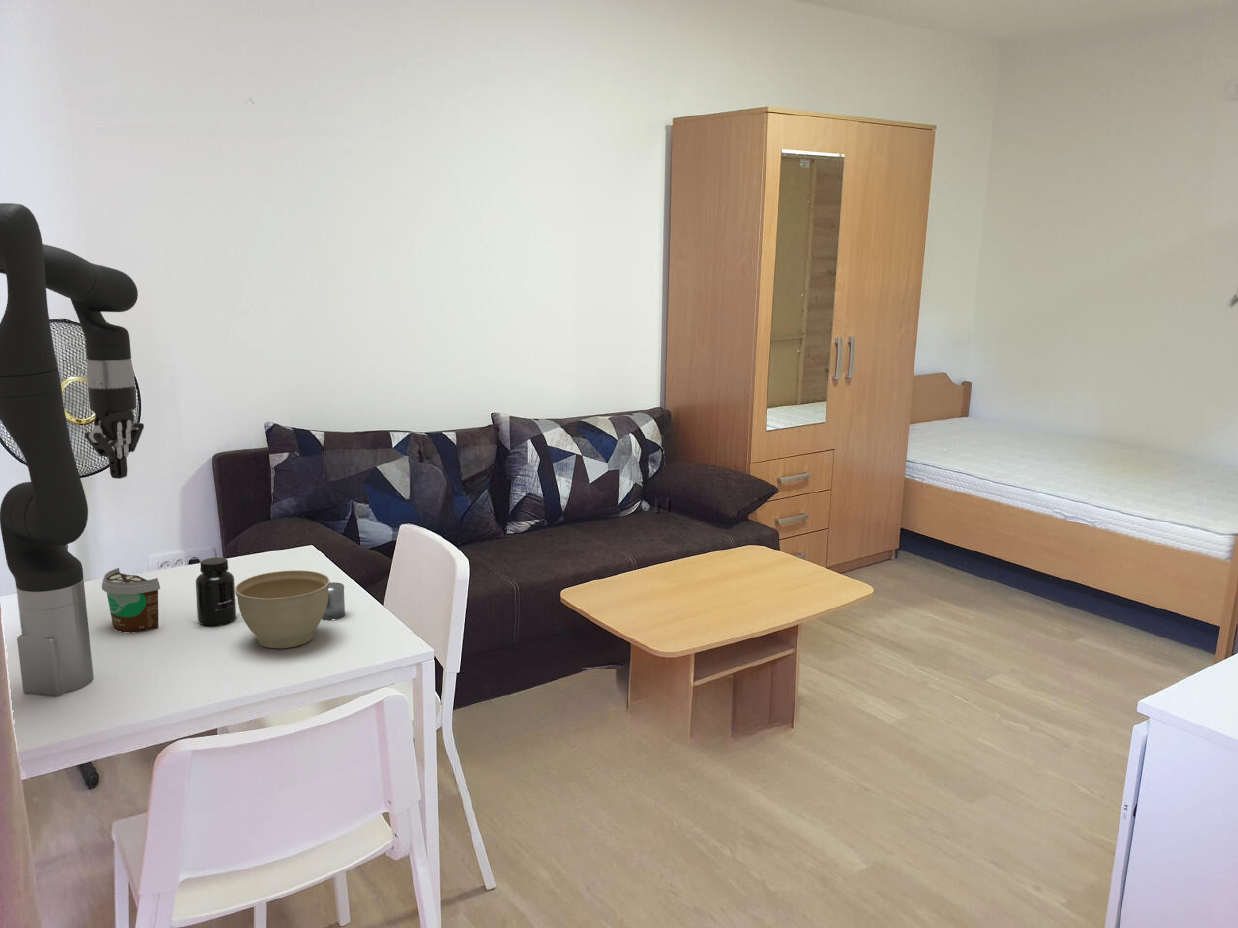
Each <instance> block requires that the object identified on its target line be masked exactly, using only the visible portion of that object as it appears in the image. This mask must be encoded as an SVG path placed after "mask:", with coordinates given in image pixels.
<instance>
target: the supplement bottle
mask: <svg viewBox="0 0 1238 928" xmlns="http://www.w3.org/2000/svg"><path fill="white" fill-rule="evenodd" d="M199 563H200V572H201V574H199V575H198V576H197V577H196V579H195V595H196V609H197V610H196V611H197V621H198V623H199V624H200V625H202V626H205V627H218V626H224V625H228V624H230V623H232V622H234V620H236V617H237V607H236V592H235V588H236V585H235V584H236V583H235V576H234V575H233V573H232V572H230V571H229V560H228V559H227V558H225V557H208V558H205V559H202V560H201V561H200V562H199Z"/></svg>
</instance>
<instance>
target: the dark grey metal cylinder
mask: <svg viewBox="0 0 1238 928" xmlns="http://www.w3.org/2000/svg"><path fill="white" fill-rule="evenodd" d="M345 616H346V605H345V585H344V584H343V583H342V582H335V581H334V582H331V581H330V585H329V588H328V602H327V607H326V610H325V613H324V615H323V617H322V619H323V621H333V620H332V619H336V620H340V619H342V618H344V617H345ZM322 619H321V620H322Z"/></svg>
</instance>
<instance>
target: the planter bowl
mask: <svg viewBox="0 0 1238 928" xmlns="http://www.w3.org/2000/svg"><path fill="white" fill-rule="evenodd" d="M330 583H331V581H330V577H328V575H326V574H324V573H321V572H318V571H312V570H303V569H302V570H298V569H297V570H295V569H294V570H291V569H290V570H279V571H271V572H265V573H260V574H257V575H253V576H250V577H248V578H246V579H244V580H242V581H240V582H238V583H237V584H236V585H235V597H236V598H237V604H238V605H237V606H238V609H239V612H240V615H241V617H242V619H243V622H244V623H245V625H246V626H247V628H248V629H249V630H250V631H251V632H252V634H253V635H254V636H255V637H257V641H258V644H259V645H261V646H262V647H265V648H267V649H268V648H269V649H287V648H294V647H299V646H302V645H304V644H306V643H308V642H310V641H311V640H312V639H313V637H314V634H315V630H316V629H317V627H318V626H319V624H320V623H321V621H322V617H323V615H324V613H325V610H326V607H327V602H328V588H329V585H330Z"/></svg>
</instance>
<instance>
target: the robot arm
mask: <svg viewBox="0 0 1238 928" xmlns="http://www.w3.org/2000/svg"><path fill="white" fill-rule="evenodd" d="M0 274H2V275H3V274H4V275H5V276H6V283H7V285H6V286H7V299H6V300H7V301H6V307H5V311H4V314H3V315H2V318H1V320H0V422H1V423H2V425H3V427H4V428H5V430H6V431H7V433H8V434H9V435H10V437H11V438H12V440H13V441H14V443H15V444H16V445H17V447H18V449H19V450H20V452H21V454H22V456H23V458H24V460H25V464H26V466H27V469H28V473H29V478H30V481H26V482H25V481H24V482H20V483H18V484H16V485H14V486H12V487H11V488H9V490H8V491H7V492H6V493H5V495H4V497H3V499H2V501H1V504H0V531H1V539H2V544H3V549H4V554H5V561H6V566H7V567H8V570H9V571H10V573H11V575H12V576H13V578H14V582H15V588H16V598H17V604H18V613H19V615H18V616H19V621H20V622H19V623H20V630H21V632H20V633H21V634H20V635H18V636H17V637H16V641H17V651H18V657H19V659H18V660H19V667H20V668H19V669H20V676H21V683H22V692H23V693H24V692H28V693H27V694H34V695H36V694H37V695H42V696H43V695H44V696H45V695H46V696H53V697H58V696H60V695H61V694H64V693H68V692H71V691H75V690H77V689H80V688H83V687H85V686H87V685H88V684H89V683H90V682H92V681H93V679H94V666H93V658H92V649H91V640H90V639H91V638H90V629H89V620H88V617H89V616H88V609H87V599H86V589H85V587H86V586H85V579H84V568H83V564H82V562H81V561H80V560H79V558H77V557H76V556H74V555H73V554H72V553H70V551H68V549H67V548H66V546H64V545H69V544H72V543H74V542H76V540H78V539H79V538H80V537H81V536H82V535H83V533H84V531H85V529H86V527H87V523H88V519H89V508H88V501H87V496H86V493H85V489H84V486H83V482H82V479H81V477H80V472H79V469H78V466H77V463H76V459H75V454H74V450H73V446H72V442H71V436H70V435H71V434H70V431H69V425H68V421H67V415H66V410H65V405H64V397H63V391H62V384H61V383H62V382H61V377H60V371H59V365H58V360H57V357H56V352H55V346H54V341H53V335H52V329H51V328H52V327H51V323H50V316H49V314H50V313H49V307H48V297H47V289H48V290H49V291H52V292H54V293H57V294H59V295H61V296H63V297H65V298H69V299H70V301H71V304H72V307H73V309H74V311H75V314H76V316H77V319H78V321H79V324H80V328H81V330H82V332H83V336H84V339H85V350H86V351H85V352H86V362H87V363H86V381H87V383H86V384H87V392H88V402H89V410H90V411H92V412H94V414H95V416H94V420H93V424H94V427H93V429H92V430H91V431H86V432H85V433H84V437H85V438H86V440H87V442H88V443H89V444H90V445H91V446H92V448H93V449H94V450H95V452H96V453H97V454H98V456H100V457H104V458H107V459H108V463H109V464H108V465H109V473H110V477H111V478H112V479H119V480H120V479H124V478H127V477H128V471H129V470H128V461H127V460H128V459H127V457H129V454H130V453H133V452H135V450H136V447H138V446H137V445H138V443H139V440H140V438H141V436H142V433H143V430H144V428H145V426H144V425H145V424H144V423H141V422H138V421H136V420H135V414H134V413H133V410H136V408H137V405H138V404H137V395H136V393H137V392H136V384H135V383H136V381H135V380H136V379H135V372H134V371H135V370H134V367H133V362H132V352H131V341H130V340H131V338H130V333H129V331H128V329H127V328H125V327H123V326H121V325H116V324H113V323H110V322H107V320H106V319H105V318H104V315H103V314H102V313H123V312H127V311H129V310H131V309H132V308H133V307H134V306H135V305H136V304H137V301H138V297H139V295H138V293H139V291H138V288H137V285H136V283H135V281H134V280H133V279H132V278H131V276H130V275H128V274H126V273H125V272H124V271H122V270H119V269H116V268H111V267H109V266H105V265H101V264H96V263H93V262H90V261H88V260H87V259H85V258H83V257H81V256H79V255H77V254H75V253H73V252H71V251H69V250H67V249H62V248H60V247H56V246H53V245H48V244H43V238H42V233H41V230H40V225H39V223H38V221H37V218H36V216H35V215H34V213H33V212H32V211H31V210H30V209H29V207H27V206H25V205H23V204H21V203H13V202H12V203H9V202H8V203H7V202H6V203H5V202H4V203H3V202H2V203H0Z"/></svg>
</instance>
